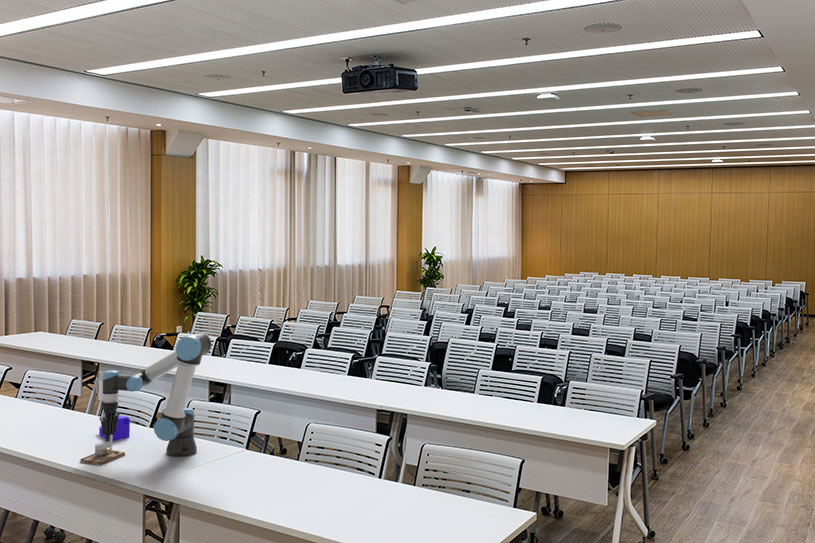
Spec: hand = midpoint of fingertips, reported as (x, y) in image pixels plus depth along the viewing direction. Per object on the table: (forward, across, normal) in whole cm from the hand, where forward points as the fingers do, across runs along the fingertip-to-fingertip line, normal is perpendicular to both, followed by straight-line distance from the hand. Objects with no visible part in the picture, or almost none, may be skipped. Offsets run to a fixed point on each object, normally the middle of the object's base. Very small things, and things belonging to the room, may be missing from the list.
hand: (109, 447), depth 365 cm
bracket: (+4, -29, -21) cm, 36 cm away
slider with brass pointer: (+2, +6, +3) cm, 7 cm away
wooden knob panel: (+4, +7, +2) cm, 8 cm away
